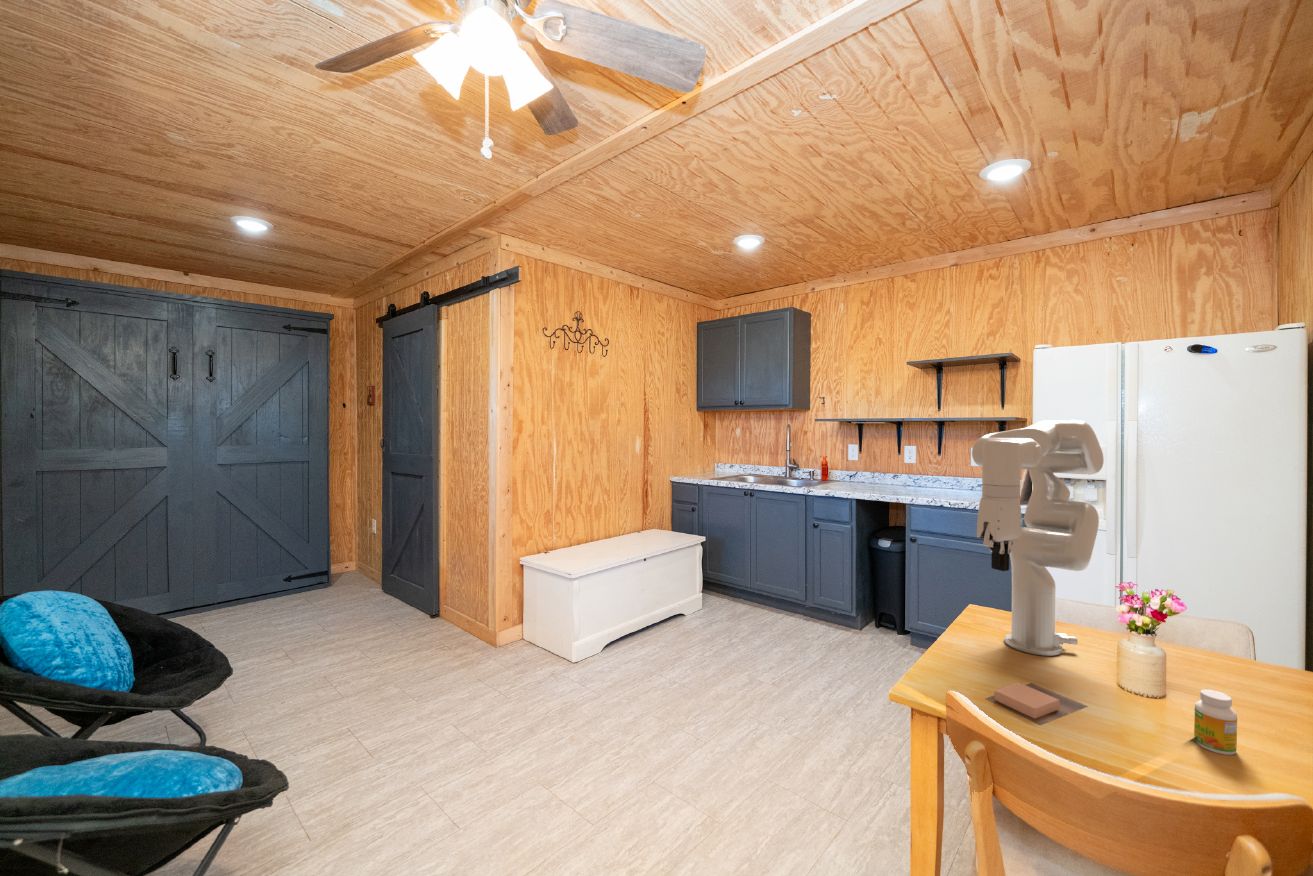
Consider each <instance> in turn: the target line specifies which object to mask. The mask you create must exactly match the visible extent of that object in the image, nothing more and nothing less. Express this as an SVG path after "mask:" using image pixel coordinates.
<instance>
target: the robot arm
mask: <svg viewBox="0 0 1313 876" xmlns="http://www.w3.org/2000/svg"><path fill="white" fill-rule="evenodd" d="M971 449H972V450H971V457H972V459H973V462H974V463H975V464H976V465H977V466H979V467H981V469H982V472H981V473H982V474H981V479H982V481H981V482H982V483H981V484H982V485H981V486H982V489H981V494H982V495H981V497H980V501H979V505H978V511H977V521H976V522H977V524H976V538H978V539H980V540H983V543H982V544H983V546H985V547H988V548H989V551H990V553H991V569H993V570H997V571H1001V572H1006V571H1007V572H1008V571H1010V564H1011V632H1010V633H1007V634H1005V636H1004V643H1005V644H1006V645H1008V646H1009V647H1011V648H1013V649H1015V650H1018V651H1020V652H1024V653H1028V654H1031V655H1036V656H1037V655H1038V656H1045V657H1047V656H1049V657H1051V656H1052V657H1053V656H1057V655H1060V654H1062V653H1063V645H1064V644H1068V645H1074V646H1075V645H1078V643H1079V641H1078V638H1077V637H1076V636H1070V635H1069V636H1068V635H1067V634H1066V633H1058V632H1057V631H1056V590H1057V589H1056V581H1055V579H1054V578H1053V576H1052V574H1051V572H1050V571H1049V570H1048V569H1047V568H1048V567H1049V568H1053V569H1055V568H1056V569H1060V570H1066V571H1073V572H1080V571H1081V572H1082V571H1084V570H1085V569H1087V568H1088V566H1089V564H1090V562H1091V558H1092V555H1093V551H1094V547H1095V544H1096V539H1097V536H1098V531H1099V526H1100V525H1099V524H1100V523H1099V522H1100V520H1099V519H1100V518H1099V513H1098V510H1097V509H1096V507H1095V506H1094V505H1093V504H1090V503H1088V502H1084V501H1078V500H1077V501H1075V500H1070V497H1071V491H1070V489H1069V488H1068V486H1067V485H1066V484H1065V482H1064V481H1063V480H1062V479H1060V478H1059V477H1057V475H1055V474H1072V475H1095V474H1098V473H1099V472H1100V471H1101V470H1102V468H1103V466H1104V462H1105V461H1104V459H1105V458H1104V453H1103V449H1102V447H1101V445H1100V442H1099V439H1098V437H1097V434H1096V433H1095V431H1094V429H1093V427H1091V425H1090V424H1088V423H1087V422H1086V421H1084V420H1077V419H1076V420H1075V419H1074V420H1073V419H1071V420H1065V419H1064V420H1040V421H1037V422H1034V423H1032V424H1030V425H1028V426H1026V427H1022V428H1016V429H1010V430H1004V431H997V432H993V433H988V434H984V435H983V436H981V437H979V438H977V439H976V440H975V442H974V444H973V447H972V448H971ZM1021 470H1028V474H1029V477H1030V480H1031V483H1032V491H1031V494H1030V497H1029V500H1028V502H1027V506H1026V509H1025V511H1024V516H1023V518H1024V519H1023V520H1022V507H1021V501H1020V500H1021ZM1023 521H1024V524H1025V527H1023V523H1022V522H1023Z"/></svg>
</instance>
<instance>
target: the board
mask: <svg viewBox="0 0 1313 876" xmlns="http://www.w3.org/2000/svg"><path fill="white" fill-rule="evenodd" d="M1025 685H1026V686H1028V687H1030V688H1033V689H1035V690H1037V691H1040V692H1042V693H1045V694H1047V695H1049V696H1052V697H1054V698H1056V699H1059V710H1056V711H1054V712H1051V713H1048V714H1046V715H1043V716H1041V717H1038V718H1035V719H1034V718H1032V717H1030V716H1028V715H1025V714H1023V713H1021V712H1019V711H1017V710H1015V709H1013V708H1011V707H1008V706H1006V705H1004V704H1002V703H1000V702H998V701H996V700H995V694H994V695H991V696H988V697H986V698H984V699H985V700H987V701H989V702H991V703H993V704H995V705H998V706H999V707H1000V708H1003V709H1005V710H1008V711H1010V712H1012V713H1014V714H1016V715H1019V716H1020V717H1022V718H1024V719H1027V720H1029V721H1031V722H1033V723H1035V724H1037V725H1038V726H1042V725H1044V724H1047V723H1050V722H1052V721H1055V720H1057V719H1060V718H1062V717H1065V716H1067V715H1070V714H1072V713H1074V712H1077V711H1080V710H1082V709H1084V708H1087V707H1088V705H1086V704H1084V703H1082V702H1078V701H1076V700H1074V699H1072V698H1069V697H1067V696H1065V695H1062V694H1060V693H1057V692H1055V691H1052V690H1050V689H1049V688H1045V687H1043V686H1040V685H1038V684H1035V683H1034V682H1030V683H1027V684H1025Z"/></svg>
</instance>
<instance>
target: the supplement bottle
mask: <svg viewBox="0 0 1313 876" xmlns="http://www.w3.org/2000/svg"><path fill="white" fill-rule="evenodd" d="M1199 697H1200V699H1199V700H1198V701H1196V702H1195V703H1194V728H1193V729H1194V730H1193V731H1194V732H1193V735H1194V737H1193V740H1194V742H1195V743H1196V744H1197V745H1198V746H1200V747H1201V748H1203V749H1206V750H1208V751H1210V752H1213V753H1216V754H1220V755H1225V756H1230V755H1235V754H1236V753H1237V747H1238V746H1237V745H1238V744H1237V743H1238V741H1237V740H1238V739H1237V738H1238V735H1237V734H1238V732H1237V731H1238V714H1237V712H1236V711H1235V710H1234V709H1233V708H1231V707H1232V705H1233V699H1232V697H1231V696H1230V695H1229V694H1226V693H1224V692H1221V691H1217V690H1213V689H1207V688H1206V689H1201V690H1200V694H1199Z"/></svg>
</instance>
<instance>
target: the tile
mask: <svg viewBox="0 0 1313 876" xmlns="http://www.w3.org/2000/svg"><path fill="white" fill-rule="evenodd" d="M994 695H995V700H996V701H998V702H1000V703H1002V704H1004V705H1006V706H1008V707H1011V708H1013V709H1015V710H1017V711H1019V712H1021V713H1023V714H1025V715H1028V716H1030V717H1032V718H1034V719H1035V718H1038V717H1041V716H1043V715H1046V714H1048V713H1051V712H1054V711H1056V710H1059V699H1056V698H1054V697H1052V696H1049V695H1047V694H1045V693H1042V692H1040V691H1037V690H1035V689H1033V688H1030V687H1028V686H1026V684H1023V683H1022V682H1021V683H1020V682H1015V683H1013V684H1010V685H1007V686H1004V687H1001V688H997V689H994Z"/></svg>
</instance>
